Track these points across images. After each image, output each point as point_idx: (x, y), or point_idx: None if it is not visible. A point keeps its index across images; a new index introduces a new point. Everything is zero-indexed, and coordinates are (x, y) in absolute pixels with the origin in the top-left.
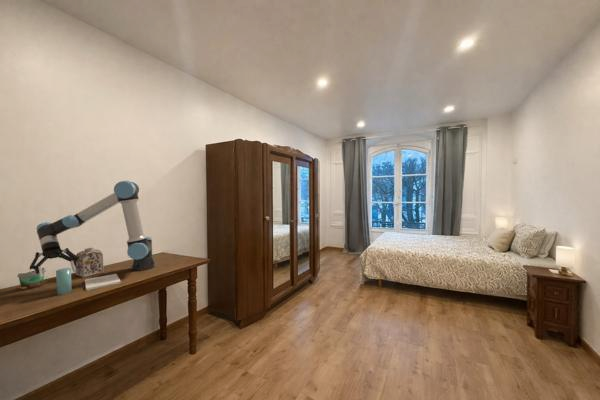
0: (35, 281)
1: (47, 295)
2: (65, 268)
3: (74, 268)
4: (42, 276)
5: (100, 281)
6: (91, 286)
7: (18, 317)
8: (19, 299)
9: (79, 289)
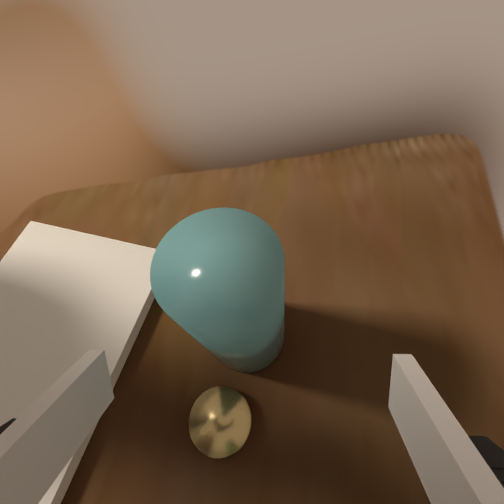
0: None
1: (328, 372)
2: (180, 309)
3: (88, 361)
4: (396, 360)
5: (55, 320)
6: (138, 261)
7: (441, 148)
8: None
9: None
